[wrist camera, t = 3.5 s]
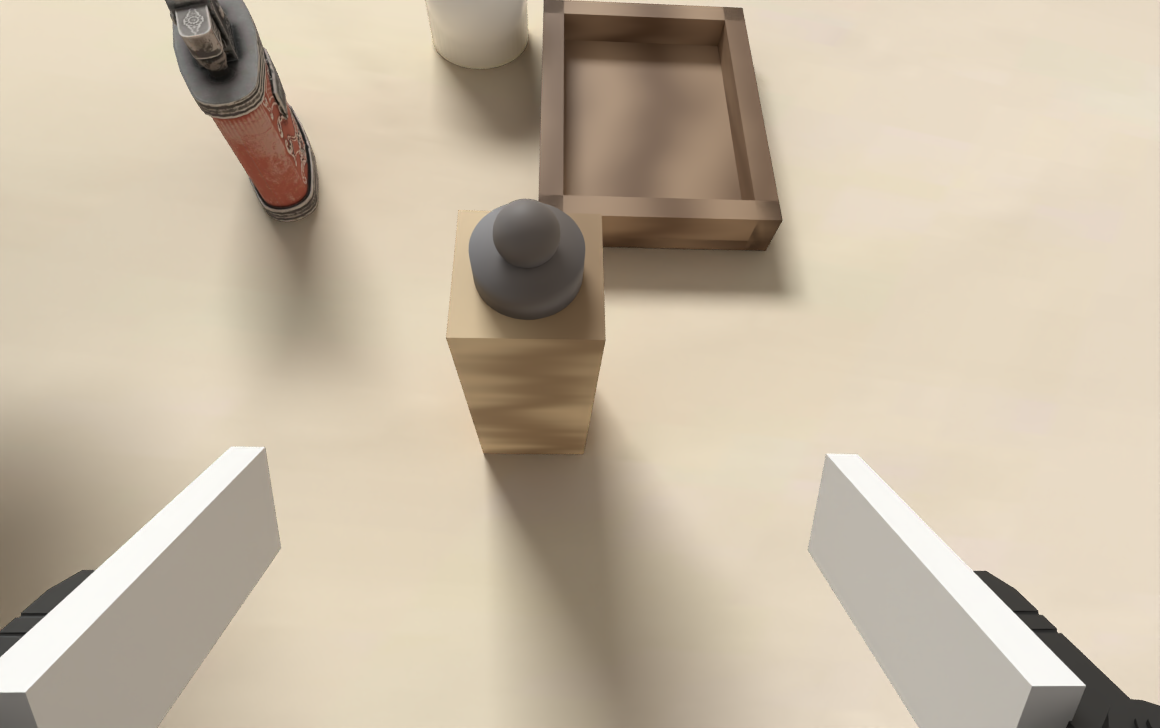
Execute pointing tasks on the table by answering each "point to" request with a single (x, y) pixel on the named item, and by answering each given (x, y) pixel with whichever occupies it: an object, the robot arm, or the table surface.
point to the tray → (655, 125)
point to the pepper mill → (528, 324)
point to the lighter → (246, 102)
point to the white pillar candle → (478, 31)
